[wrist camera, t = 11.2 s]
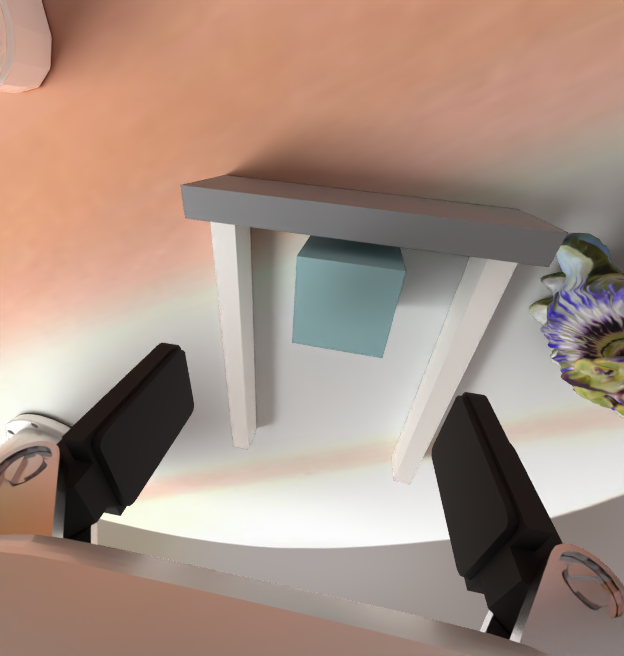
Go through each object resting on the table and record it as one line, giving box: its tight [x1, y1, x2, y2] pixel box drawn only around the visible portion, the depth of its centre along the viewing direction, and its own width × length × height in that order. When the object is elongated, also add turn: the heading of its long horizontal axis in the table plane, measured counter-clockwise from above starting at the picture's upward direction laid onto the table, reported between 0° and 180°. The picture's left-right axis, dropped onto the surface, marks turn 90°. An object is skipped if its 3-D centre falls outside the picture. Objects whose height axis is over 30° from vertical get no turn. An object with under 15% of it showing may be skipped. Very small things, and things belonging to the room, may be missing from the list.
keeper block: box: [292, 235, 406, 358], centre depth 17 cm, size 5×5×6 cm
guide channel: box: [181, 175, 568, 484], centre depth 21 cm, size 24×17×5 cm
